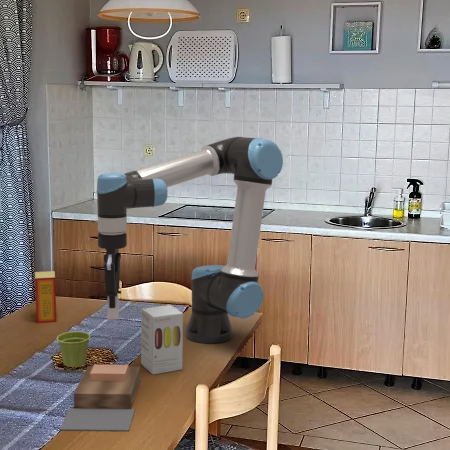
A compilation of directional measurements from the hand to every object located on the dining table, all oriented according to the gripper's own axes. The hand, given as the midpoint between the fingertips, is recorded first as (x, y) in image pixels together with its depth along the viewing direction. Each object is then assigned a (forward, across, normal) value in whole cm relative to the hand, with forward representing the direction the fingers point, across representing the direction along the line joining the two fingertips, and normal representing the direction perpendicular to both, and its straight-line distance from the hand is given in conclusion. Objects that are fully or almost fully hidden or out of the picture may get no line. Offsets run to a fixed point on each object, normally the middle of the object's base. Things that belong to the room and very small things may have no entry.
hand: (113, 318), depth 186 cm
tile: (+13, +8, 0) cm, 15 cm away
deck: (+17, +10, 0) cm, 20 cm away
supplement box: (+17, -9, +12) cm, 23 cm away
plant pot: (+17, -9, -13) cm, 23 cm away
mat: (+17, +25, 0) cm, 30 cm away
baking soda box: (+17, -52, -32) cm, 64 cm away
